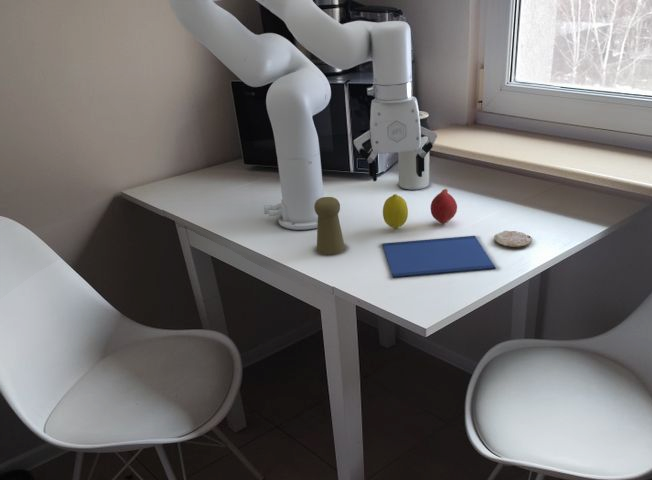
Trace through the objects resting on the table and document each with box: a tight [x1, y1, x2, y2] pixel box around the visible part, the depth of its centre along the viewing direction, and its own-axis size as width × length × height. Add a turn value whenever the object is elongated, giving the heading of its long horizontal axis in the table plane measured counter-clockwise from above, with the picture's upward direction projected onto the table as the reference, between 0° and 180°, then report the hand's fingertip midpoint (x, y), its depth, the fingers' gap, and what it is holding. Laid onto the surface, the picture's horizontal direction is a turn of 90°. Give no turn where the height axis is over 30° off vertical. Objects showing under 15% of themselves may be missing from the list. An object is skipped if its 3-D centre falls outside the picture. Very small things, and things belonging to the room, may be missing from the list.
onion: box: [430, 188, 458, 225], centre depth 138 cm, size 6×6×8 cm
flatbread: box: [493, 230, 533, 248], centre depth 130 cm, size 8×8×1 cm
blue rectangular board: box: [382, 235, 496, 279], centre depth 125 cm, size 20×16×1 cm
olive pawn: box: [314, 196, 346, 256], centre depth 128 cm, size 6×6×11 cm
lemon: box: [382, 193, 409, 230], centre depth 136 cm, size 6×6×8 cm
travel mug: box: [397, 110, 430, 191], centre depth 158 cm, size 8×8×18 cm
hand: (396, 177), depth 132 cm, fingers open, 9 cm apart
